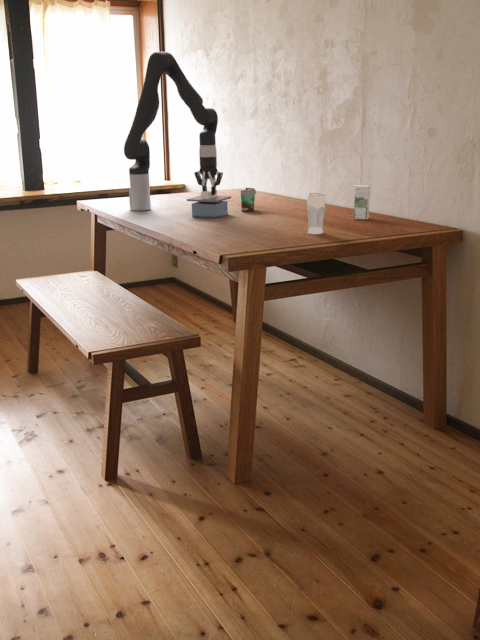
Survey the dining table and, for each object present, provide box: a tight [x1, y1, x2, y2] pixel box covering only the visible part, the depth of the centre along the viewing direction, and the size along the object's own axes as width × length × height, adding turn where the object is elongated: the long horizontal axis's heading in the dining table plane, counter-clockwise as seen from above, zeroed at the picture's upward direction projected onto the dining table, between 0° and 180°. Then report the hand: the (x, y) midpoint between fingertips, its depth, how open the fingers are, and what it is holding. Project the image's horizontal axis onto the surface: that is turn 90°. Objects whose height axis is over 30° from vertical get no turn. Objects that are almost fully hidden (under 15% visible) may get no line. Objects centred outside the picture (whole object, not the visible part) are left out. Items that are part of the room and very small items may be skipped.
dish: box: [191, 200, 229, 219], centre depth 290 cm, size 12×12×6 cm
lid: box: [186, 189, 232, 203], centre depth 288 cm, size 15×15×4 cm
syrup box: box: [353, 183, 371, 221], centre depth 272 cm, size 6×6×14 cm
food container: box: [240, 187, 257, 213], centre depth 303 cm, size 12×6×10 cm, turn 168°
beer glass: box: [306, 192, 326, 236], centre depth 243 cm, size 7×7×15 cm
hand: (209, 194), depth 288 cm, fingers closed on lid, 3 cm apart
